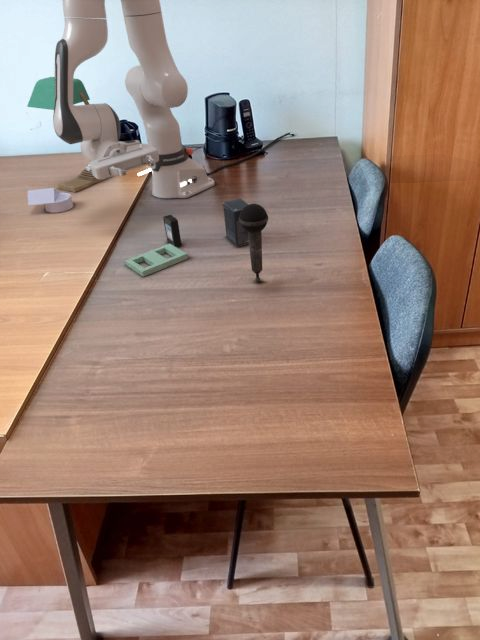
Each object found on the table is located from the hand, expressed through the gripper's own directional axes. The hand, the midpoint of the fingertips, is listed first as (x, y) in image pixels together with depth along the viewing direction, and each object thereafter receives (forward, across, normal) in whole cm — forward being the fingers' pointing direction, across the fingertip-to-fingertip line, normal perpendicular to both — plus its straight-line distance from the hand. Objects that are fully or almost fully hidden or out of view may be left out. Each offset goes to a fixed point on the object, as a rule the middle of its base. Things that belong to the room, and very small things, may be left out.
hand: (138, 168), depth 148 cm
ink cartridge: (+13, 0, +19) cm, 23 cm away
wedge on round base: (-41, -14, +19) cm, 47 cm away
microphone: (+47, +2, +19) cm, 51 cm away
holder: (+19, -10, +19) cm, 28 cm away
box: (+25, +14, +20) cm, 35 cm away
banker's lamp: (-56, +5, +19) cm, 60 cm away
